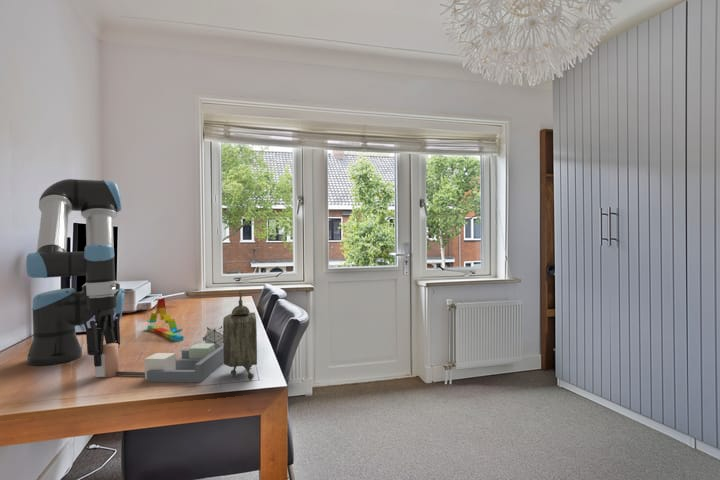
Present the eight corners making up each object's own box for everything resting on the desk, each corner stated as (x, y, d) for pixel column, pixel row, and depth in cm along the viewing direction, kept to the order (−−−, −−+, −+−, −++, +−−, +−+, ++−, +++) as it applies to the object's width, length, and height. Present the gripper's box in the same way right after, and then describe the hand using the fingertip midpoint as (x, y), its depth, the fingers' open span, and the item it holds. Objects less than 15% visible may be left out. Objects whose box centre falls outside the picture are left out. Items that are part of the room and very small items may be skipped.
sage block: (189, 367, 134) (188, 348, 134) (197, 361, 140) (197, 343, 140) (207, 367, 134) (207, 348, 133) (215, 361, 140) (215, 343, 139)
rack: (147, 381, 121) (146, 364, 121) (183, 358, 143) (183, 343, 143) (200, 382, 120) (200, 364, 120) (229, 358, 142) (228, 343, 142)
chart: (184, 340, 168) (183, 302, 168) (175, 342, 166) (175, 303, 166) (155, 328, 189) (154, 295, 189) (147, 330, 187) (146, 296, 187)
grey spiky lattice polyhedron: (217, 360, 153) (217, 342, 147) (197, 350, 155) (196, 332, 149) (232, 342, 160) (232, 325, 154) (212, 334, 162) (212, 316, 156)
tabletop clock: (257, 380, 121) (256, 293, 120) (223, 384, 118) (222, 294, 118) (254, 365, 134) (253, 286, 134) (225, 368, 132) (223, 288, 131)
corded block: (96, 378, 124) (95, 347, 124) (110, 371, 130) (109, 342, 130) (164, 379, 122) (164, 348, 122) (175, 373, 128) (175, 343, 128)
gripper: (94, 299, 118) (99, 383, 118) (130, 291, 136) (134, 364, 136) (68, 300, 118) (73, 384, 119) (107, 292, 136) (111, 365, 136)
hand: (106, 373), depth 127 cm, fingers closed on corded block, 4 cm apart
